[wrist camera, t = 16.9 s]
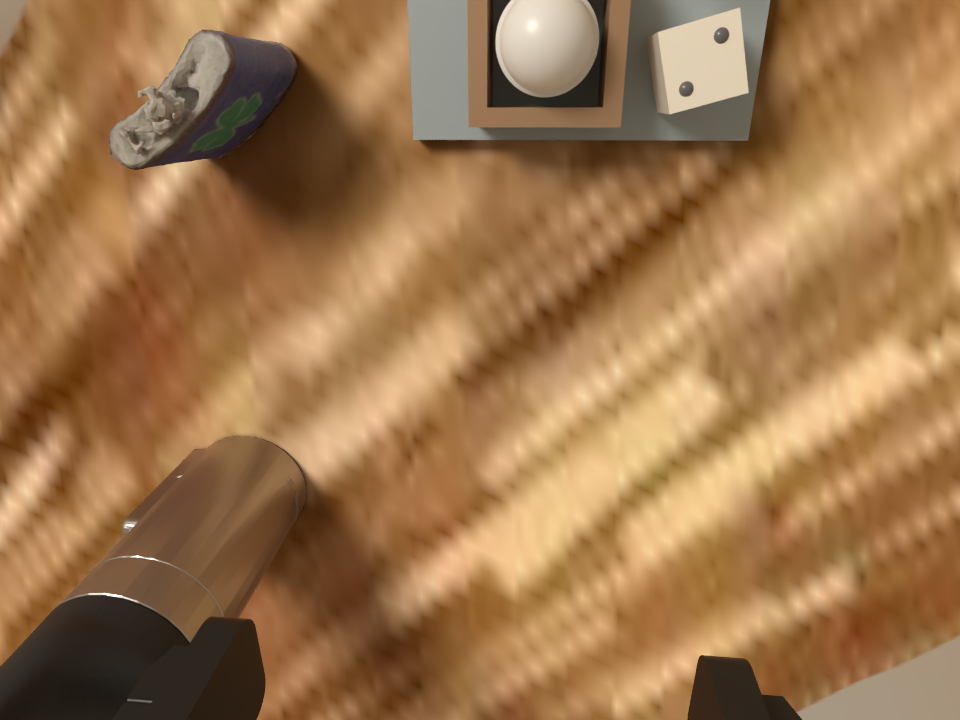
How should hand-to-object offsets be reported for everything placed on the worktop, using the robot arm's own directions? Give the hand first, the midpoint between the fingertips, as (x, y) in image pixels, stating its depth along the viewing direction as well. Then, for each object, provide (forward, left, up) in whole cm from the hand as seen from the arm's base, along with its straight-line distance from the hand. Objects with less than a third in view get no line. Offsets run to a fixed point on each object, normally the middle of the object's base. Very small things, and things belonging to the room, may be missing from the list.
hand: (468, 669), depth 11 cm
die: (+9, +11, -32) cm, 35 cm away
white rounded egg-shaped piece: (+1, +12, -31) cm, 33 cm away
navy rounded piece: (-18, +9, -33) cm, 39 cm away
